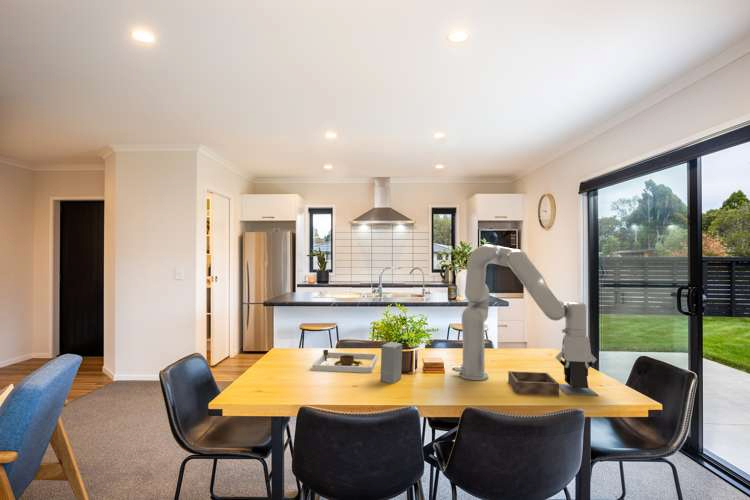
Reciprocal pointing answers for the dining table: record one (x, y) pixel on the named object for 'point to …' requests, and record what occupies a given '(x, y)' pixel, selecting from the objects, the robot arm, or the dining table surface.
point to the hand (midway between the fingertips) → (575, 376)
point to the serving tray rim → (346, 368)
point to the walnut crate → (533, 383)
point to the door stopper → (577, 375)
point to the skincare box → (391, 362)
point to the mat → (576, 390)
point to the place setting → (344, 359)
